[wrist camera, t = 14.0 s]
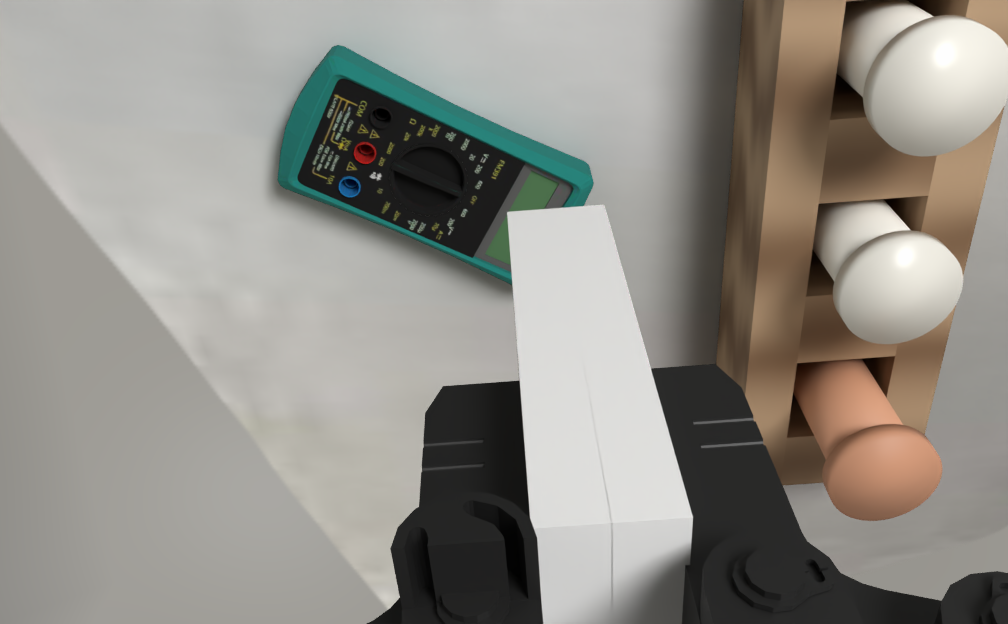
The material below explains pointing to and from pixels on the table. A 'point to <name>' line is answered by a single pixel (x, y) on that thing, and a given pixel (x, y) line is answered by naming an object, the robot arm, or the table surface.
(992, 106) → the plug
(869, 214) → the plug mid
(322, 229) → the table surface
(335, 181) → the digital multimeter
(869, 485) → the plug terracotta
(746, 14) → the board
